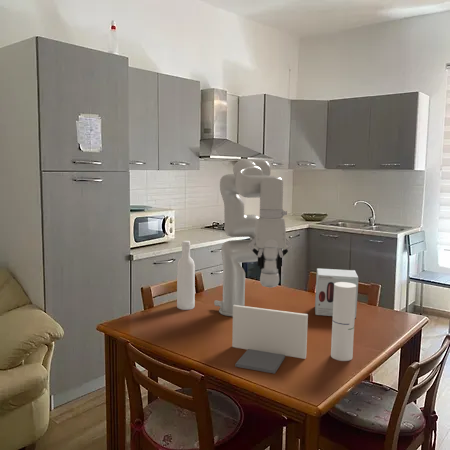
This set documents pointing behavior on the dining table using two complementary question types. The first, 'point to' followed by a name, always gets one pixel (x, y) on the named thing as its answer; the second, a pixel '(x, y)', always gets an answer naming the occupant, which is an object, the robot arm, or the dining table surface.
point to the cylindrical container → (343, 321)
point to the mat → (260, 361)
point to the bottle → (185, 279)
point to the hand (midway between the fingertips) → (269, 267)
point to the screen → (270, 331)
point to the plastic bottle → (270, 264)
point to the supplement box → (331, 288)
